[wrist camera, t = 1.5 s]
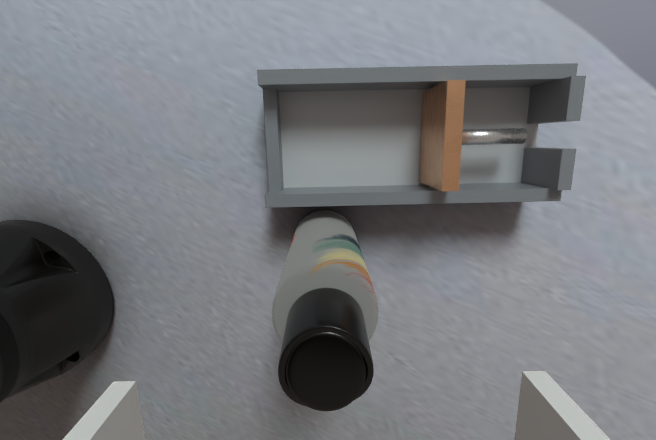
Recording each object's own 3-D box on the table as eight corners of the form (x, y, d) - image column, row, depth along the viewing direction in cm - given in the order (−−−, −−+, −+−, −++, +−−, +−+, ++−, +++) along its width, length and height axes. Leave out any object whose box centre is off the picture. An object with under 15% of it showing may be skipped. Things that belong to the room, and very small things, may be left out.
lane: (274, 197, 32) (263, 210, 26) (268, 81, 30) (254, 67, 24) (524, 191, 32) (569, 203, 26) (536, 75, 30) (587, 60, 24)
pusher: (419, 181, 31) (441, 191, 25) (422, 92, 29) (447, 80, 23) (501, 179, 31) (543, 189, 25) (509, 90, 29) (555, 77, 23)
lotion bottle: (301, 271, 34) (270, 450, 14) (288, 215, 33) (236, 326, 13) (359, 260, 34) (408, 427, 14) (349, 203, 32) (387, 298, 13)
